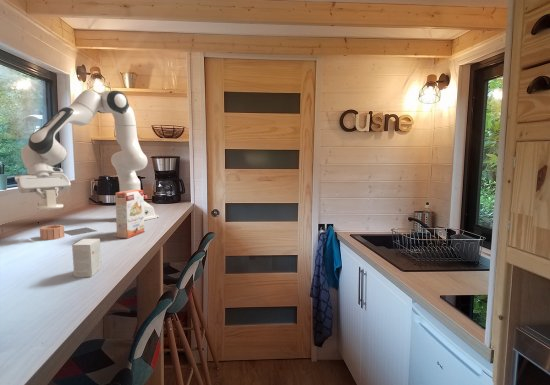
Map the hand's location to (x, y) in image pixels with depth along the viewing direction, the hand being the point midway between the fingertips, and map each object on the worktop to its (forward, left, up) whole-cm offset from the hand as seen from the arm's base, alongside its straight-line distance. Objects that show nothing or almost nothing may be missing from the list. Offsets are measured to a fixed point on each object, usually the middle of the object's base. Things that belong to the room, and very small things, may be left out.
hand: (50, 197), depth 158 cm
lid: (0, -1, -5) cm, 5 cm away
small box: (+11, +57, -19) cm, 61 cm away
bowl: (0, -1, -19) cm, 19 cm away
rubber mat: (-13, -4, -19) cm, 23 cm away
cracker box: (-26, +20, -19) cm, 38 cm away
